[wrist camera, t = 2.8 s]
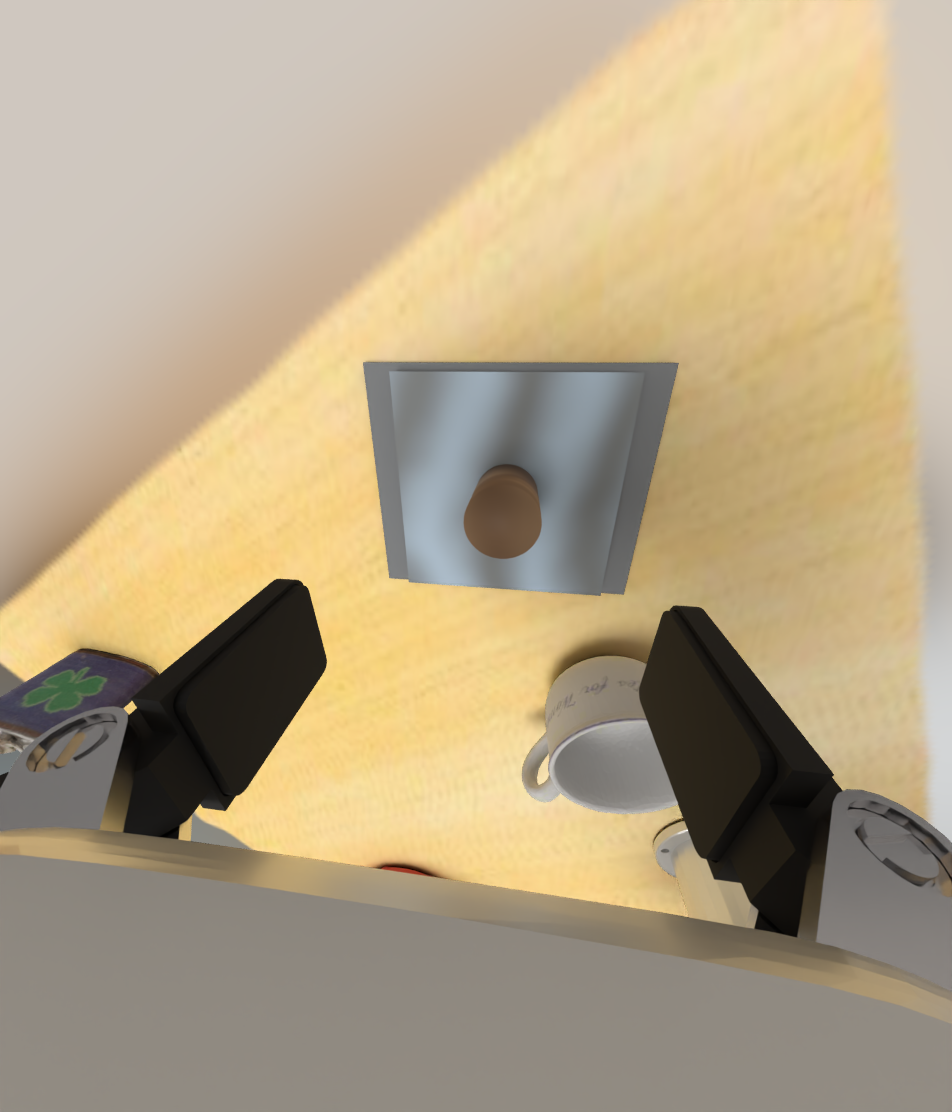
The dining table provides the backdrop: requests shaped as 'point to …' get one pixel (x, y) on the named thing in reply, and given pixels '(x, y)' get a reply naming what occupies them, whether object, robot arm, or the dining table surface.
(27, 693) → the flask
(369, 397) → the tray
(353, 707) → the dining table surface
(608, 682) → the teacup
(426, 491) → the lid
